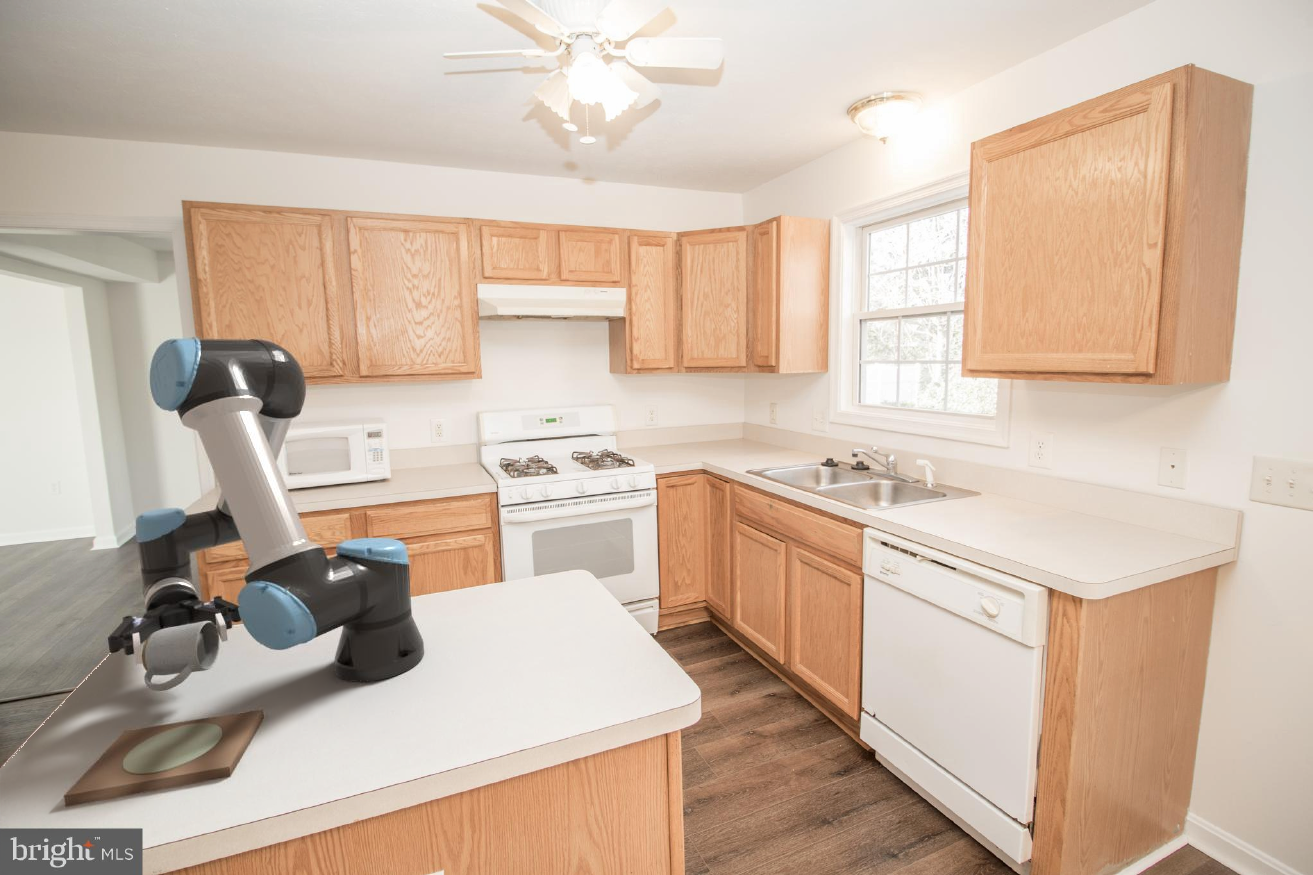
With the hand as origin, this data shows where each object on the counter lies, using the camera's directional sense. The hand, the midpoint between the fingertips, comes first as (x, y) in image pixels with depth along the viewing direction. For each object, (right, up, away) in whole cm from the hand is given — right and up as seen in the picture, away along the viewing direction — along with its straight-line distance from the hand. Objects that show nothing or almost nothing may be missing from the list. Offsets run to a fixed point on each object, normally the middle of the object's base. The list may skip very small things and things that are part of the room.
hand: (182, 643), depth 94 cm
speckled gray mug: (-2, -6, +3) cm, 7 cm away
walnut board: (+6, -13, -9) cm, 17 cm away
